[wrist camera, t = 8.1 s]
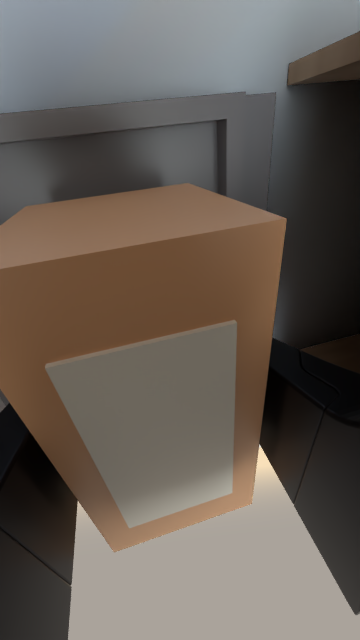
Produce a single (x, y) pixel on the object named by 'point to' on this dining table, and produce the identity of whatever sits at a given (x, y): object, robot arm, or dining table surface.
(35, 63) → the dining table surface
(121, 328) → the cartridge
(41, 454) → the robot arm
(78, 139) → the tray
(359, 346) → the box
